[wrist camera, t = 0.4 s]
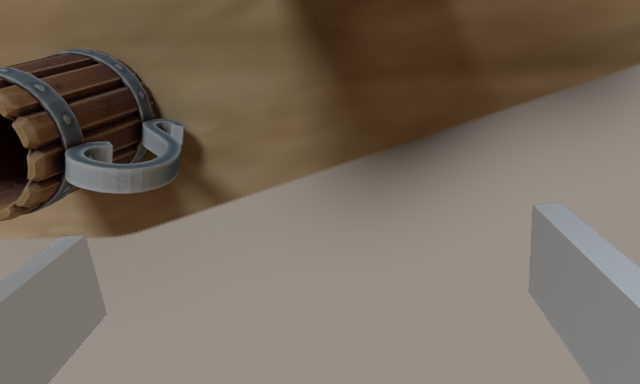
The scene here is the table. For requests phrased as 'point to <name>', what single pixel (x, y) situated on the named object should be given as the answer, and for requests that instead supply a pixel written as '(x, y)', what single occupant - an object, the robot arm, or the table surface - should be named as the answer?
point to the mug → (79, 131)
